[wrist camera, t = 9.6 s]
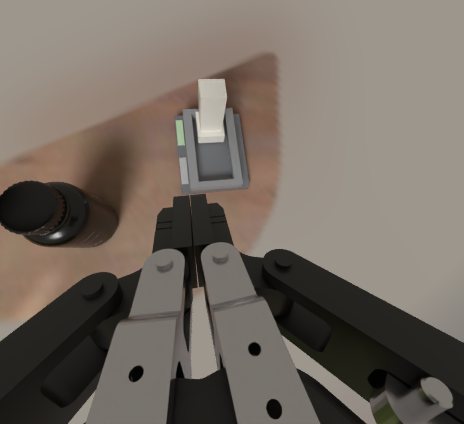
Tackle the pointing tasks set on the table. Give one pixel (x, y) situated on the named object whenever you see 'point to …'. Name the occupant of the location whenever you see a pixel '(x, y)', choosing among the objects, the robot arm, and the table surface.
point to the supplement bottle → (57, 215)
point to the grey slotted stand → (211, 156)
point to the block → (211, 110)
